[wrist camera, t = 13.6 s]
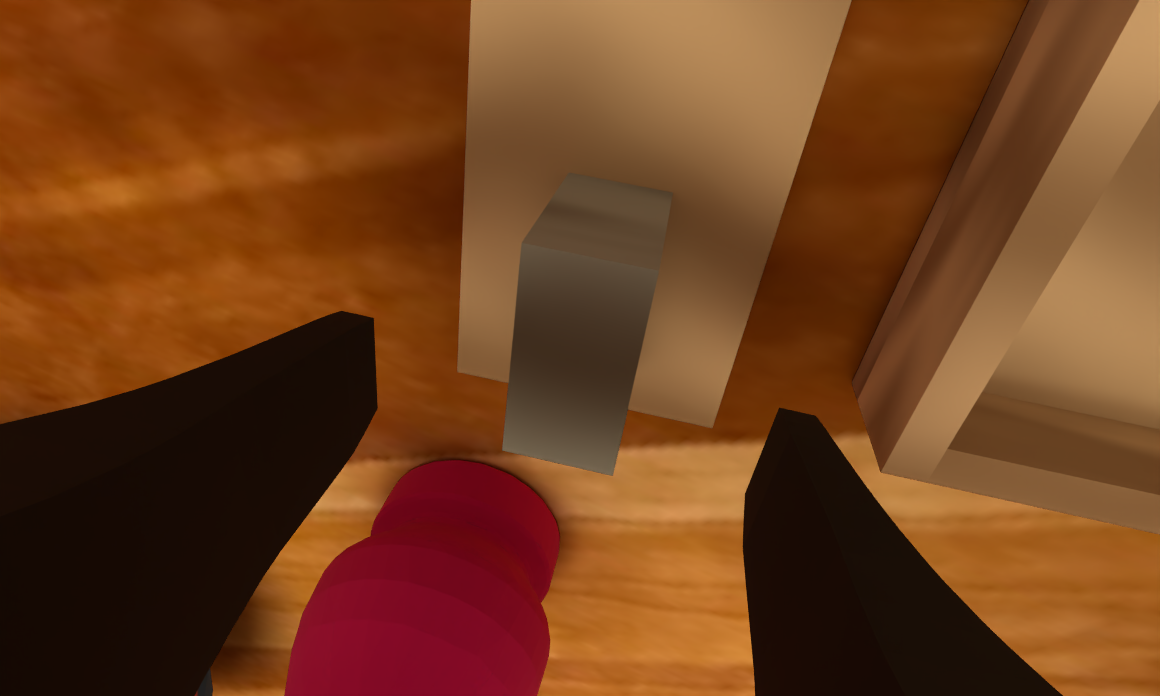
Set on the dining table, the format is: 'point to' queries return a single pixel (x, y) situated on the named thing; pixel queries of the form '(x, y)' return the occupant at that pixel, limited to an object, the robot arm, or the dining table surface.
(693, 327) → the lid
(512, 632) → the pepper mill
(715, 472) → the dining table surface
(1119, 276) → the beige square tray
